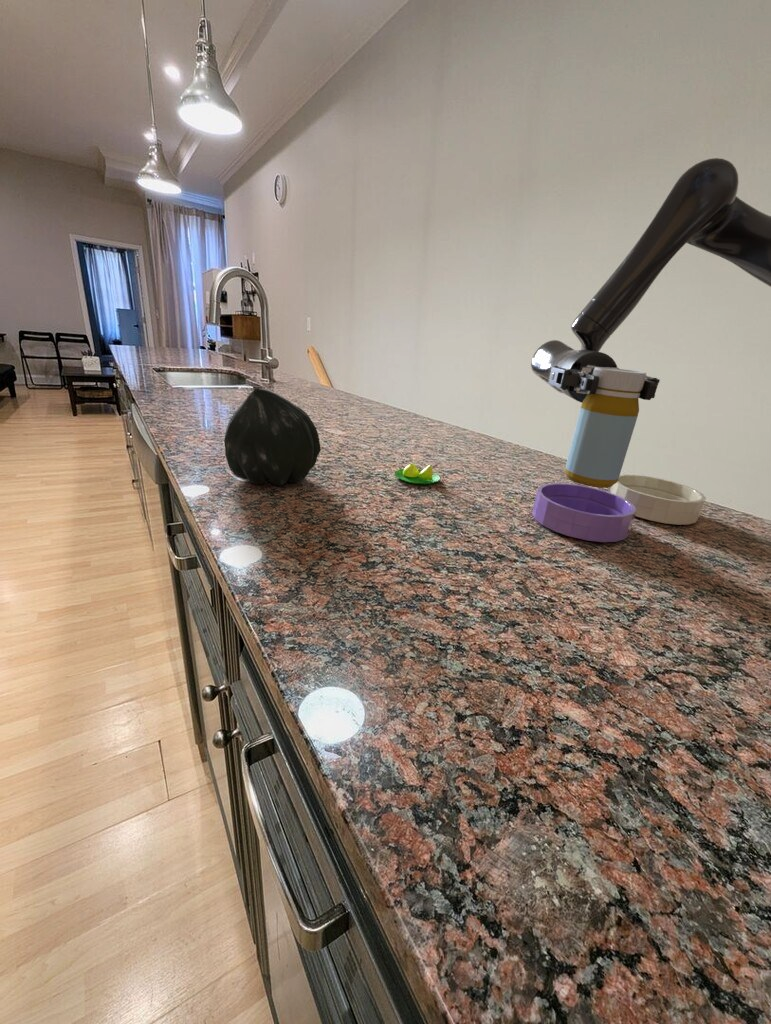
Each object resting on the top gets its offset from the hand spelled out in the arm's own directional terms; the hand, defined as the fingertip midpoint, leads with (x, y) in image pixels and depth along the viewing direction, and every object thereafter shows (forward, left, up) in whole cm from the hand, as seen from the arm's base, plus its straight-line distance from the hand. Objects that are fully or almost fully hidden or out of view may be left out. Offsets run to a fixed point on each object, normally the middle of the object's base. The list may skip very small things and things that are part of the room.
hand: (622, 388), depth 56 cm
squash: (+22, -42, -20) cm, 52 cm away
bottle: (-2, -1, -13) cm, 13 cm away
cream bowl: (-19, +5, -20) cm, 28 cm away
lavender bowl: (-2, -1, -20) cm, 20 cm away
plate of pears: (+2, -28, -20) cm, 35 cm away
